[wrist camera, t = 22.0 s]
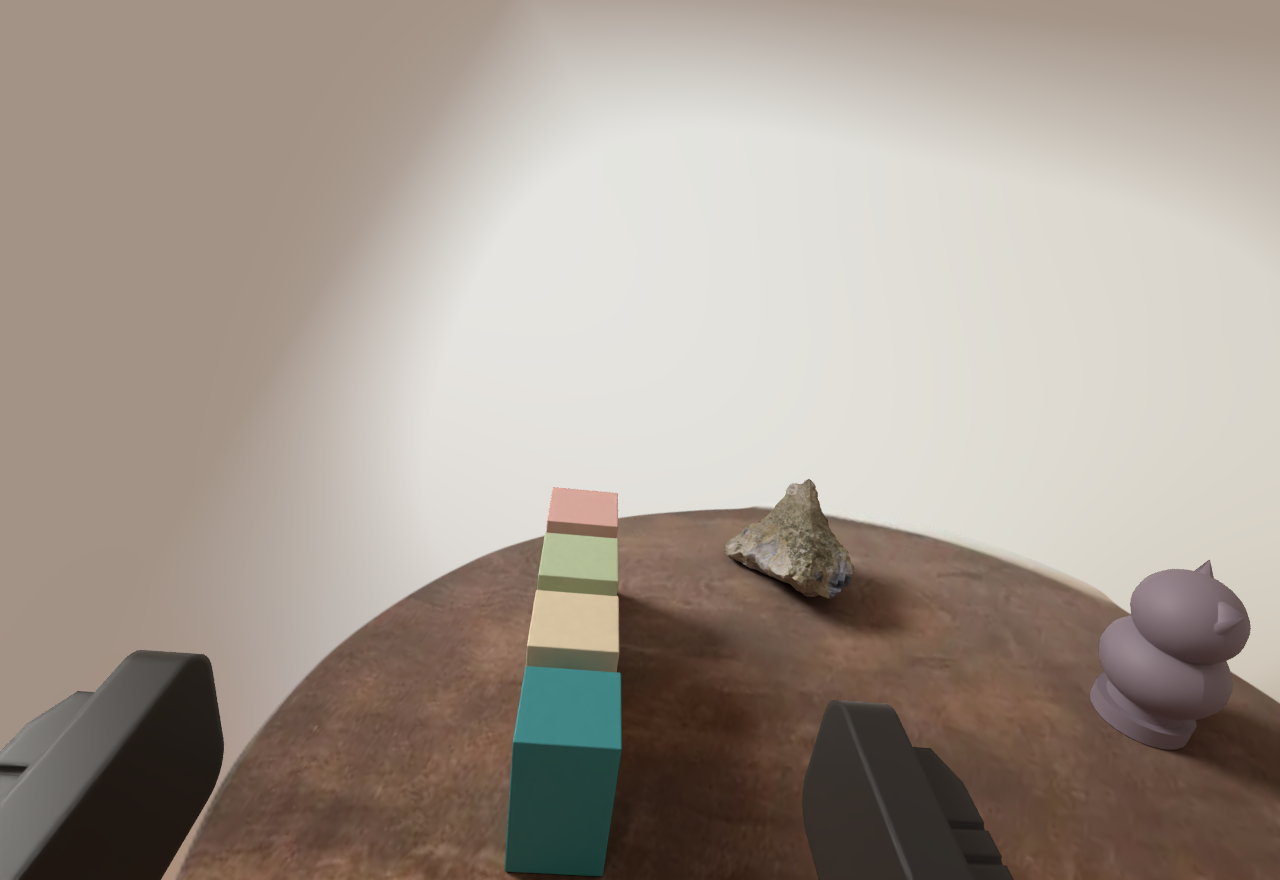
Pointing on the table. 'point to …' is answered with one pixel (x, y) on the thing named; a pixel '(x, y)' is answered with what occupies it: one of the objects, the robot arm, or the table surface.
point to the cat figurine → (1170, 657)
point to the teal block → (564, 771)
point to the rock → (795, 545)
